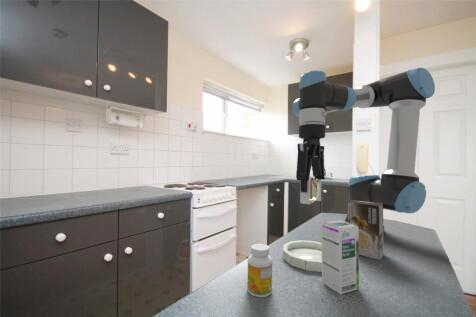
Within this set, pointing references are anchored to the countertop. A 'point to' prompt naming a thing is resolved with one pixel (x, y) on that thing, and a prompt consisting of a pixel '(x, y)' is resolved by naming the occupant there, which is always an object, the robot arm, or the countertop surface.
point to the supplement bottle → (259, 271)
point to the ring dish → (304, 254)
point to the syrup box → (340, 256)
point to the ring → (317, 187)
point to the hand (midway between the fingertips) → (311, 201)
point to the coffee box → (368, 226)
